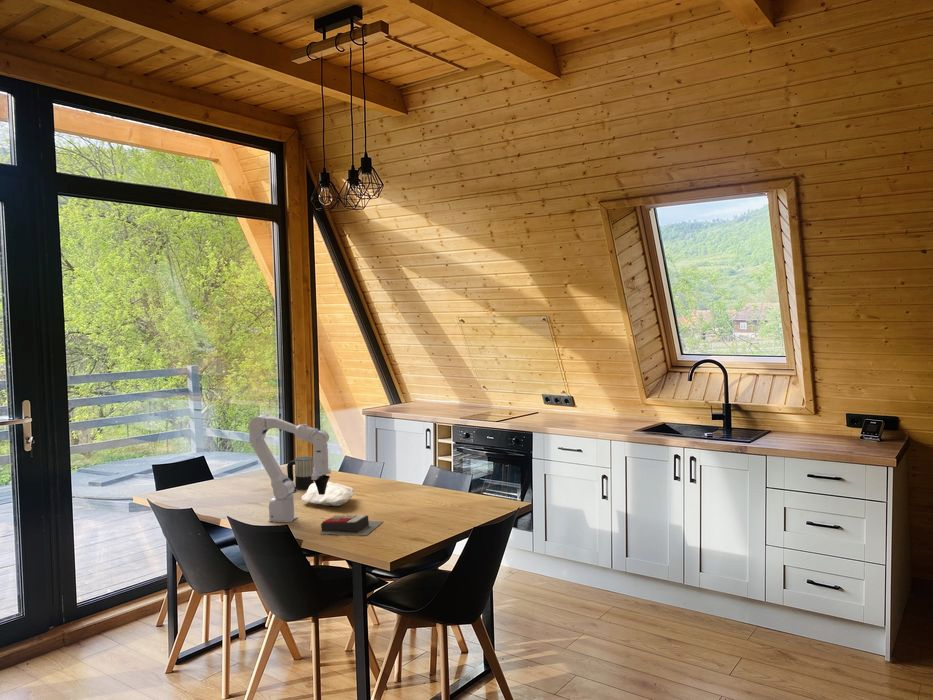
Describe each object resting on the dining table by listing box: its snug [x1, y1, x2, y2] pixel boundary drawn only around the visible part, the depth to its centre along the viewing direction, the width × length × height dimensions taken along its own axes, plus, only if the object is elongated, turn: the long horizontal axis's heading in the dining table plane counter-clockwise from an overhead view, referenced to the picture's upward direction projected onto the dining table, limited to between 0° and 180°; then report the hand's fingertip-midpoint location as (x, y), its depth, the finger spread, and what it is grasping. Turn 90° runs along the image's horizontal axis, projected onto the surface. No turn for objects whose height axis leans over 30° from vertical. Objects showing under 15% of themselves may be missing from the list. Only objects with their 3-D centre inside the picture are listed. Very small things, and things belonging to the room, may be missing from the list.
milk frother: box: [286, 456, 315, 492], centre depth 360 cm, size 14×16×15 cm
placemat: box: [320, 520, 384, 537], centre depth 286 cm, size 18×20×1 cm
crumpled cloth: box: [300, 480, 355, 507], centre depth 329 cm, size 24×35×9 cm
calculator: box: [320, 514, 370, 532], centre depth 285 cm, size 11×4×15 cm
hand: (321, 494), depth 300 cm, fingers closed
